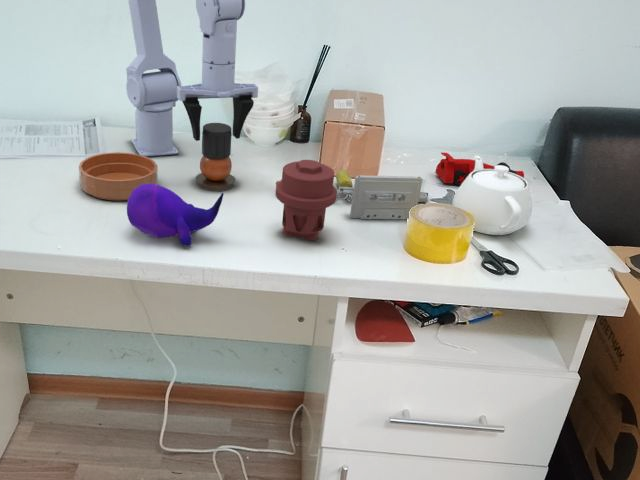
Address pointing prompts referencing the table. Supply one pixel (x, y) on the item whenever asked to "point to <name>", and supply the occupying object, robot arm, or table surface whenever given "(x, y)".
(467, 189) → the teapot
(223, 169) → the sphere on round base
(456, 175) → the toy car
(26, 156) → the table surface
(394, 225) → the table surface
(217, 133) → the cap
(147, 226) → the toy
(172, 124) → the robot arm
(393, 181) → the cassette
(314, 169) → the mechanical component
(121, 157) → the round terracotta dish
